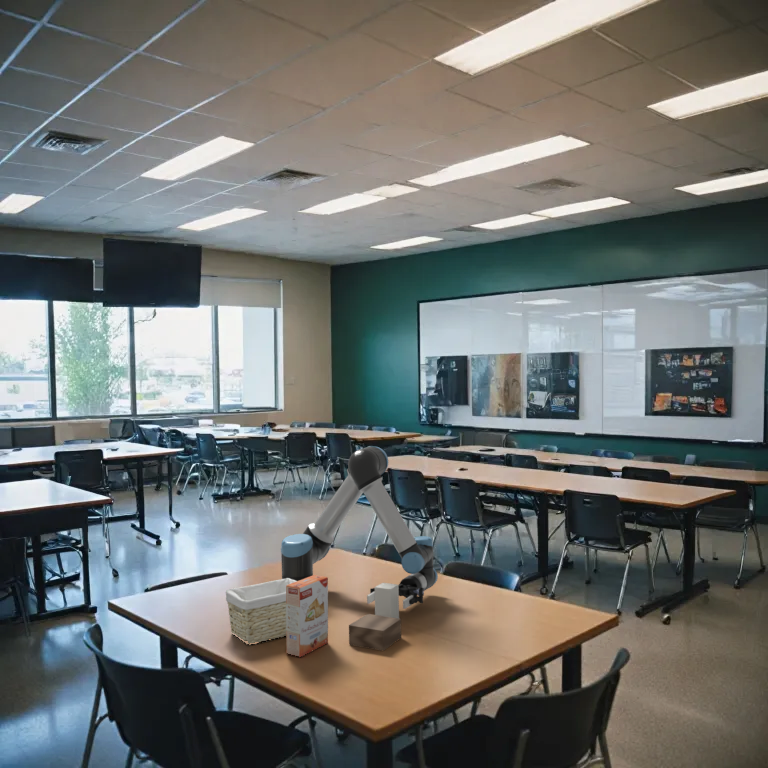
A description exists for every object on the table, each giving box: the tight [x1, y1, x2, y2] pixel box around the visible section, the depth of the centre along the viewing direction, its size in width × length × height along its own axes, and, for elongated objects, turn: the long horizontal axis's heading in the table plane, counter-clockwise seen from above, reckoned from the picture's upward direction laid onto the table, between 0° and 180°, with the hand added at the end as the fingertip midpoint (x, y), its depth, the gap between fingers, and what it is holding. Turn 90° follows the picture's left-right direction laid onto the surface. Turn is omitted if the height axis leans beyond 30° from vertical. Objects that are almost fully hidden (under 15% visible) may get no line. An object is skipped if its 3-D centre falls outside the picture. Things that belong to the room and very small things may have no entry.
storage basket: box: [225, 578, 297, 644], centre depth 231 cm, size 24×16×15 cm
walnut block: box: [348, 613, 402, 652], centre depth 221 cm, size 12×12×6 cm
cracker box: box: [285, 574, 329, 658], centre depth 216 cm, size 14×6×21 cm, turn 148°
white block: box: [374, 582, 400, 619], centre depth 240 cm, size 6×6×12 cm
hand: (385, 602), depth 238 cm, fingers open, 13 cm apart
